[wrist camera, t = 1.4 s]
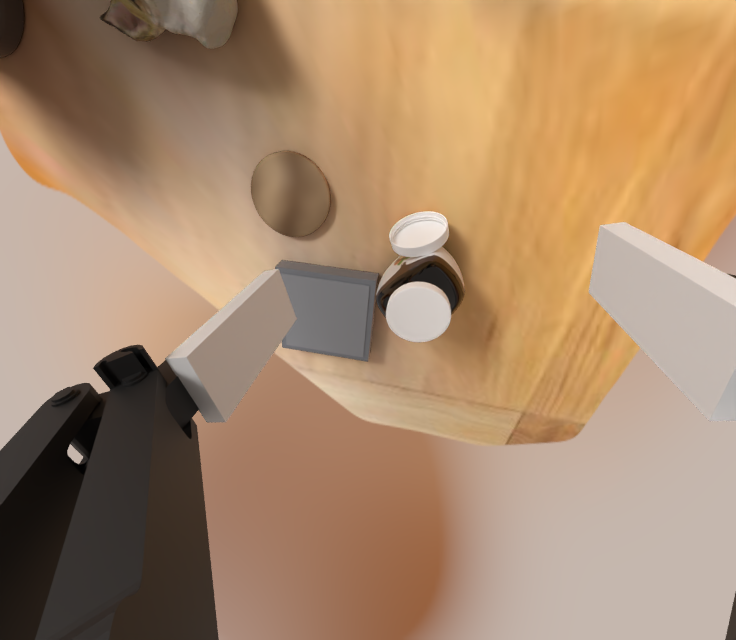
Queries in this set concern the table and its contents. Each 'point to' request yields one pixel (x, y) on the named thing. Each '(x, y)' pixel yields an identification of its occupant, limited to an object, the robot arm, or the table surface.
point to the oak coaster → (290, 193)
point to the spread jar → (420, 279)
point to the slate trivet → (330, 309)
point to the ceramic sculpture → (174, 19)
